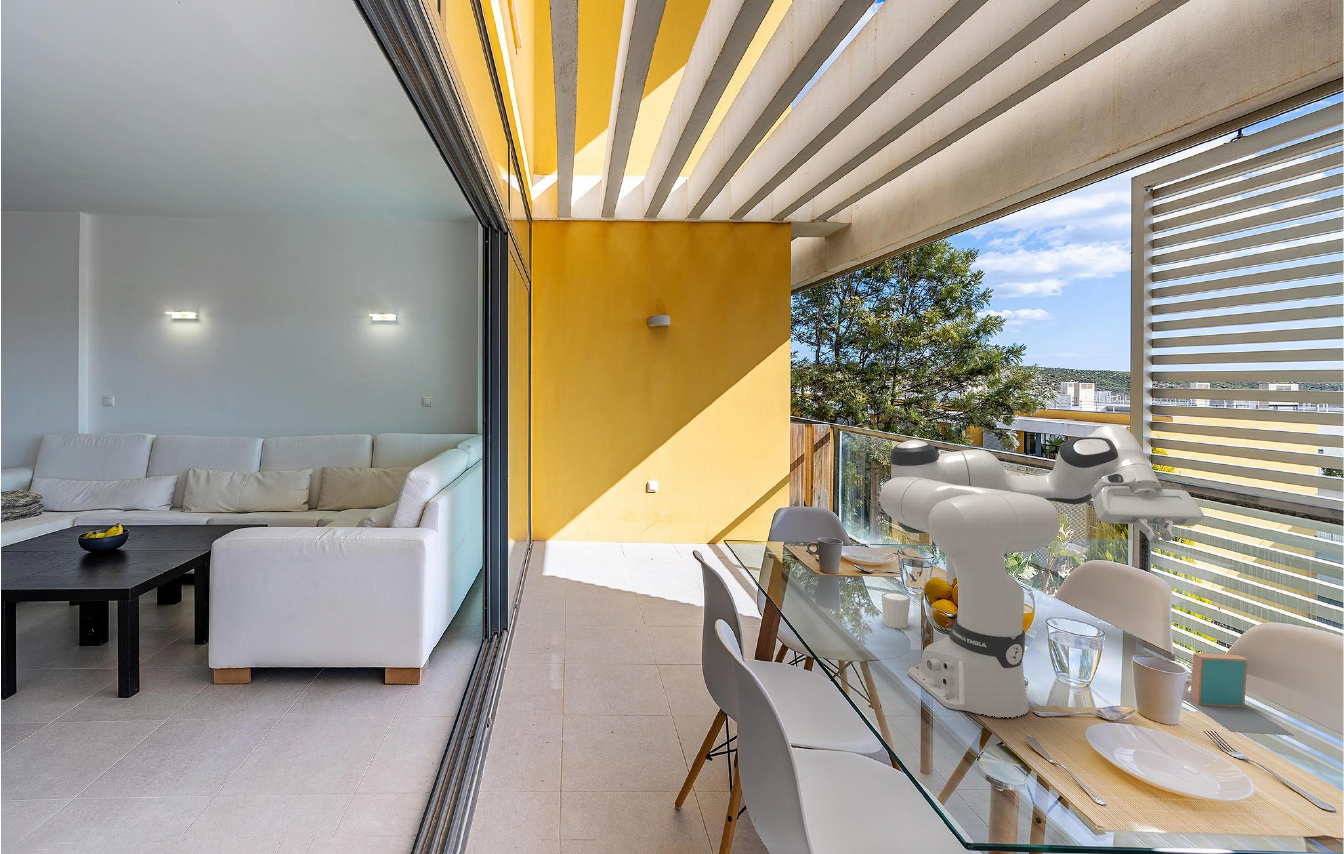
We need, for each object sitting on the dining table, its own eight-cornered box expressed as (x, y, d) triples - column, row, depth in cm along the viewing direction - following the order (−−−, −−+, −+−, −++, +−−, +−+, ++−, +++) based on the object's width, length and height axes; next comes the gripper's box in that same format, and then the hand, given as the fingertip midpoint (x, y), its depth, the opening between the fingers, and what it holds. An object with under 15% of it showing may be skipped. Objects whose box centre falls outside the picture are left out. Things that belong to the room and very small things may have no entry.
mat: (1173, 695, 125) (1173, 691, 125) (1228, 698, 125) (1228, 694, 125) (1230, 735, 111) (1231, 731, 111) (1294, 739, 110) (1294, 734, 110)
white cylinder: (906, 631, 157) (907, 602, 156) (877, 625, 161) (878, 597, 160) (912, 622, 163) (913, 595, 162) (884, 617, 166) (885, 590, 166)
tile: (1190, 699, 122) (1193, 652, 122) (1235, 702, 122) (1239, 654, 121) (1198, 705, 120) (1201, 657, 120) (1244, 707, 120) (1248, 659, 119)
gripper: (1177, 495, 148) (1205, 548, 139) (1082, 493, 150) (1104, 545, 141) (1192, 479, 143) (1223, 532, 134) (1094, 476, 145) (1118, 529, 136)
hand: (1161, 539), depth 137 cm, fingers closed
